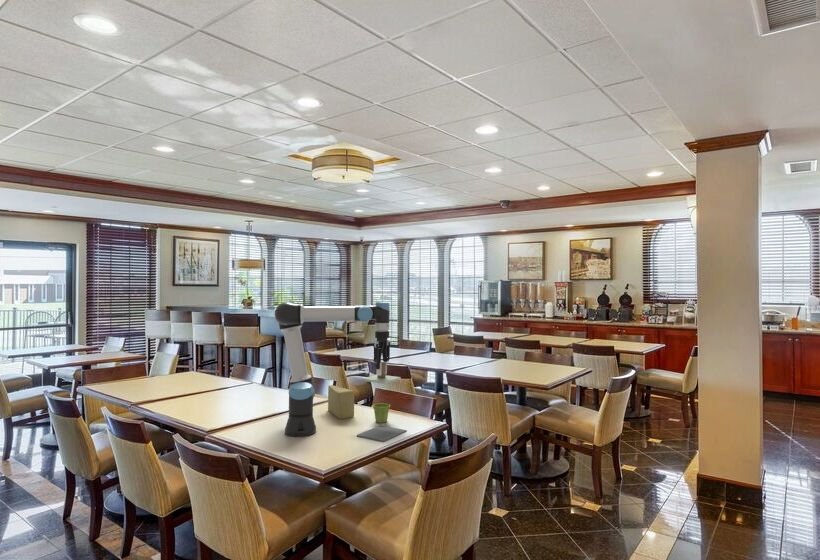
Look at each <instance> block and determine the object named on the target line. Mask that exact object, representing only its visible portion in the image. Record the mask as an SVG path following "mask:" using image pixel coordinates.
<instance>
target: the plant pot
mask: <svg viewBox="0 0 820 560" xmlns="http://www.w3.org/2000/svg"><path fill="white" fill-rule="evenodd" d="M372 407H373V410H374V417H375V422H376V423H379V424H383V423H387V422H388V417H389V411H390V407H391V404H388V403H375V404H372Z"/></svg>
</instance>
